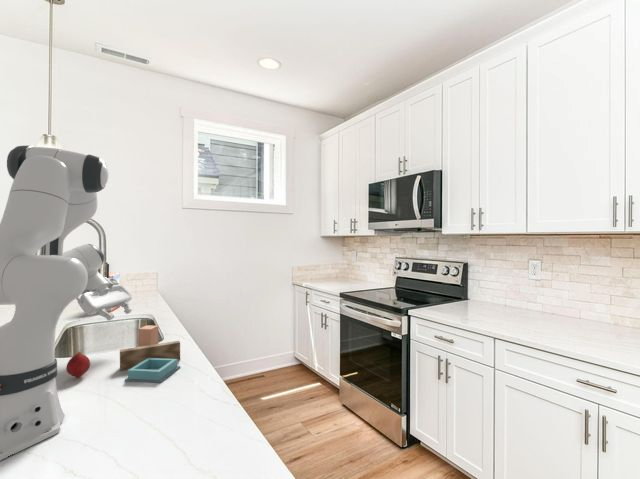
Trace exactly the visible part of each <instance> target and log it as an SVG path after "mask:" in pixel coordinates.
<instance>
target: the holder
mask: <svg viewBox="0 0 640 479" xmlns="http://www.w3.org/2000/svg"><path fill="white" fill-rule="evenodd" d="M179 369H181V365H178V360H177V359H163V358H147V359H146V360H144V361H142V362H141V363H139V364H137V365H136V366H134V367H132V368H131V369H127V377H126V378H125V379H124V382H126V383H127V382H129V383H133V382H134V383H148V384H149V383H153V384H162V383H163V382H164V381H165V380H167V379H168V378H169V377H171V375H173V374H174V373H175V372H177V371H178V370H179Z"/></svg>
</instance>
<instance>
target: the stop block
mask: <svg viewBox="0 0 640 479" xmlns="http://www.w3.org/2000/svg"><path fill="white" fill-rule="evenodd" d="M154 344H159V325H150V324H149V325H144V326H142V327H140V328H138V347H141V346H148V345H154Z"/></svg>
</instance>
